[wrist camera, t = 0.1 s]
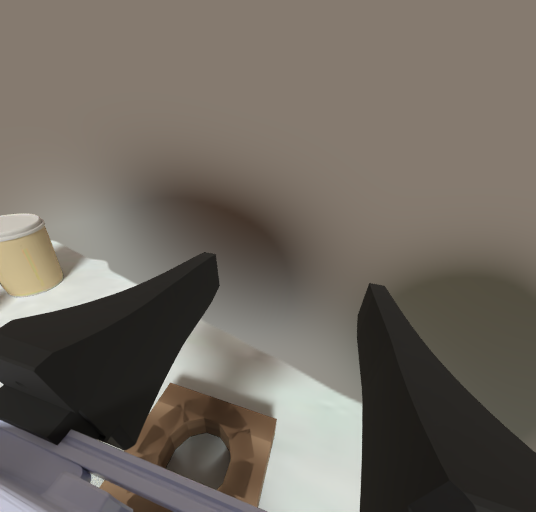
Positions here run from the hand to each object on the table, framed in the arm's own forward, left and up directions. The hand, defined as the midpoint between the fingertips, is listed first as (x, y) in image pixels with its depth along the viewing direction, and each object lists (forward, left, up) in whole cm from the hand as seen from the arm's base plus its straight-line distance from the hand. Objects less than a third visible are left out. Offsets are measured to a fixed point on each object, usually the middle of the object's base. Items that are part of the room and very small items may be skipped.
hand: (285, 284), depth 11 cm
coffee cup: (+13, +48, -22) cm, 54 cm away
